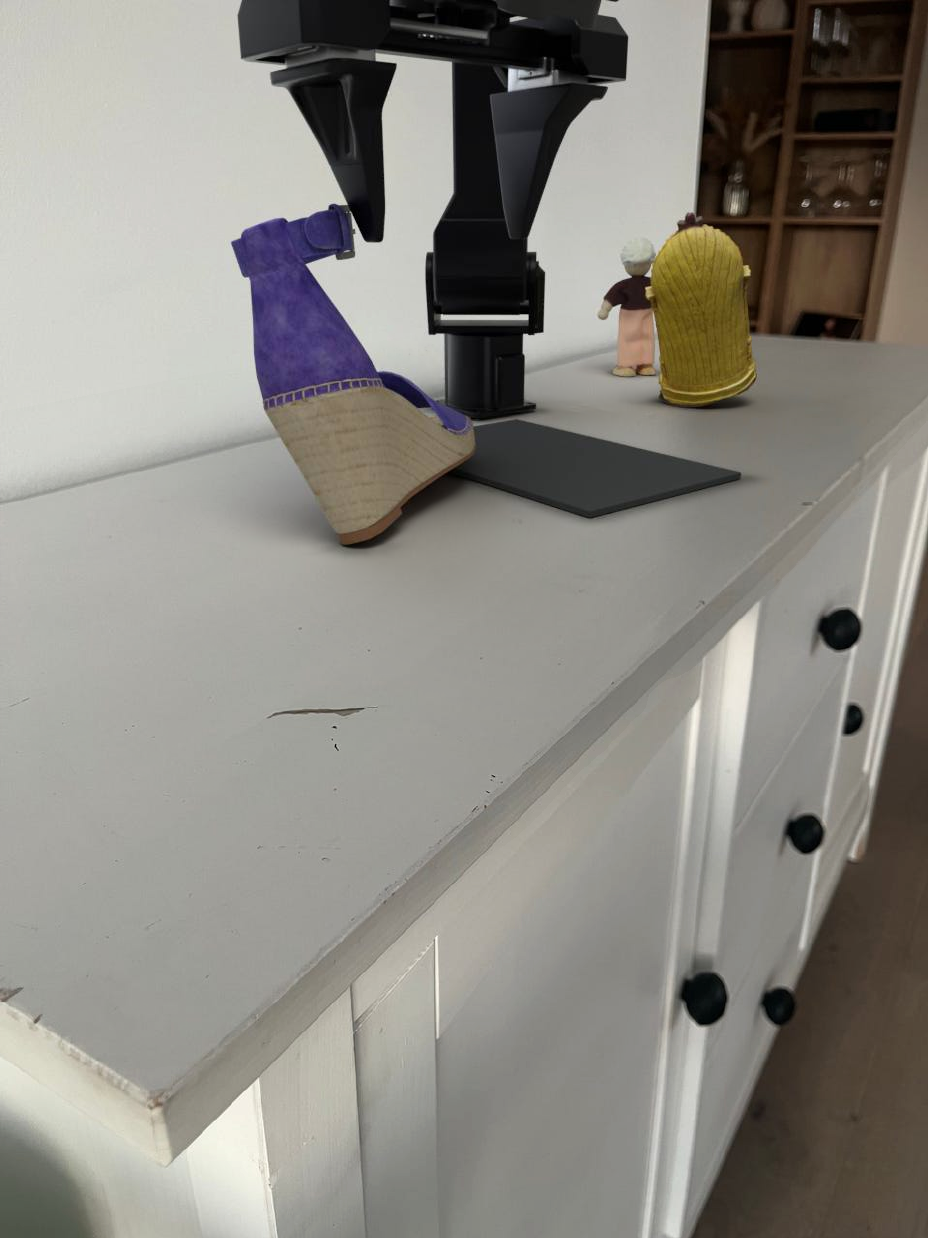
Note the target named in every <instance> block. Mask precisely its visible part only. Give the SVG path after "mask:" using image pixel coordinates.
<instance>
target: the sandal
mask: <svg viewBox="0 0 928 1238" xmlns="http://www.w3.org/2000/svg"><path fill="white" fill-rule="evenodd" d="M352 218H353V215H352V213H351V211H350V209H349V207H348V204H337V203H330V204H329V205H328V208H327V209H325V210H320V211H316V212H314V213H312V214H310V215H309V216H306V217H300V218H297V219H294V220H290V221H288V220H287V219H286V218H284V217H277V218H272V219H270V220H266V221H263V222H260V223H258V224H255V225H252V226H249V227H247V228H245V229H244V230H243V231H242V232H241V234H240V237H238V238H236V239H233V240H231V242H230V244H231V247H232V250H233V252H234V256H235V258H236V262H237V264H238V267H239V270H240V273H241V276H242V277H243V278H245V279H246V278H248V279H249V283H250V285H249V286H250V298H251V311H252V312H251V313H252V332H253V333H252V335H253V336H252V338H253V356H254V357H253V359H254V365H255V374H256V381H257V383H258V386H259V390H260V395H261V398H262V405H263V406H262V407H263V411H264V413H265V415H266V417H267V418H268V420H269V421H270V423H271V425H272V426H273V428H274V429H275V431H276V433H277V435H278V437H279V438H280V440H281V441H282V443H283V444H284V447H285V449H287V451H288V453H289V454H290V456H291V458H292V460H293V461H294V463H295V465H296V467H297V468H298V470H299V472H300V473H301V475H302V476H303V478H304V481H305V482H306V483H307V486H309V488H310V490H311V492H312V493H313V495H314V497H315V498H316V500H317V502H318V504H319V506H320V507H321V509H322V511H323V513H324V515H325V517H326V518H327V520H328V522H329V524H330V525H331V527H332V529H333V530H334V532H335V533H336V536H337V538H338V540H339V543H340V544H341V545H344V546H346V545H352V544H357V543H360V542H364V541H367V540H371V539H372V538H374V537H376V536H378V535H380V534H382V533H383V532H384V531H385V530H387V528H388V527H390V525H392V524H393V523H394V522H395V521H396V520H397V519H398V518H399V517H400V516H401V515H403V512H402V509H401V508H402V507H403V505H405V504H406V503H407V502H408V501H409V500H410V499H411V498H412V497H413V496H415V495H417V493H419V492H421V491H422V490H423V489H425V488H426V487H427V486H429V485H430V484H432V483H433V482H435V481H436V480H438V479H439V478H441V477H442V476H443V475H445V474H447V473H449V472H448V471H450V470H451V469H453V468H455V467H456V466H458V465H460V464H461V463H463V462H464V461H466V460H467V459H469V458H470V457H471V456H472V455H474V453H475V451H476V443H475V435H474V430H473V426H474V422H473V420H472V418H471V417H468V416H465V415H463V414H461V413H459V412H457V411H455V410H453V409H451V408H449V407H447V406H444V405H442V404H440V403H438V402H436V401H437V400H435V399H433V398H432V397H430V396H429V395H427V394H426V393H425V391H424V390H423V389H421V388H420V387H419V386H417V385H416V384H415V383H414V382H413V381H411V379H408V378H407V377H405V376H403V375H401V374H398V373H395V372H393V371H386V370H381V371H377V368H376V366H375V364H374V362H373V360H372V358H371V357H370V355H369V353H368V352H367V350H366V349H365V347H364V346H363V344H362V342H361V341H360V340H359V338H358V336H357V335H356V333H354V330H353V329H352V328H351V326H350V325H349V323H348V322H347V320H346V319H345V318H344V316H343V314H342V313H341V312H340V311H339V309H338V308H337V307H336V305H335V303H334V302H333V300H331V298H330V297H329V295H328V294H327V293H326V291H325V290H324V289H323V286H321V285H320V283H319V281H318V280H317V279H316V277H315V276H314V274H313V273H312V272H311V270H310V268H309V267H308V266H307V265H308V264H311V263H313V262H317V261H320V260H324V259H326V258H329V257H332V256H334V255H335V259H336V261H344V260H349V259H353V258H356V248H355V239H354V235H356V228H353V227H354V226H353V219H352ZM428 408H431V409H432V410H433V411H434V413H435V414H436V415H433V416H428V415H426V413H425V412H423V411H421V410H420V409H428Z"/></svg>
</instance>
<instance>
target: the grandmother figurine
mask: <svg viewBox="0 0 928 1238" xmlns="http://www.w3.org/2000/svg"><path fill="white" fill-rule="evenodd" d="M656 256H657V252H656V250H655V248H654V244H653V243H652V242H651V240H649V239H648V238H645V237H636V238H633V239H630V241H628V242H626V243H625V245H623V247H622V250H621V252H620V261H621V263H622V265H623V267H624V270H625V272H626V273H627V275H629V276H630V277H628V278H623V279H621V280H619V281H617V282H616V283H614V284H613V285H612V286H611V287H610V288H609V290H608V291H607V292H606V294H605V295H604V296H603V299H602V300H603V301H602V303H601V305H600V309H599V310H598V311H597V318H598V319H599V320H600V321H606V320H607V319H608V318H609V315H610V314H609V313H610V312H611V311H612V309H613V308H614V307H617V306H620V307H619V312H618V329H617V330H618V331H617V343H616V344H617V348H616V350H617V351H616V352H617V353H616V355H617V356H616V357H617V358H616V359H617V360H616V361H617V366H615V368H613V371H612V375H614V376H619V377H625V378H626V377H628V378H629V377H635V376H637V374H638V375H640V376H641V375H642V376H655V375H656V374H657V372H656V368H655V367H654V365H653V364H655V354H656V353H655V352H656V338H655V337H656V335H655V319H654V313H653V310H652V308H651V307H652V306H651V301H649V300H647V299H646V297H645V294H646V290H645V287H649V286H651V279H650V278H651V276H647V274H648V273H649V272H650V271H651V269H652V268H651V267H652V264H653V262H655V257H656ZM633 367H636V368H635V369H634V368H633Z"/></svg>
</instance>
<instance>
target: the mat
mask: <svg viewBox="0 0 928 1238" xmlns="http://www.w3.org/2000/svg"><path fill="white" fill-rule="evenodd" d="M473 430H474V435H475V443H476V451H475V453H474V455H472V456H471V457H470V458H469V459H467V460H466V461H464V462H463V463H461V464H460V465H458V466H456V467H455V468H453V469H451V470H450V471H448V472H447V473H450V474H453V475H456V476H459V477H462V478H465V479H469V480H471V481H474V482H476V483H477V482H478V483H481V484H484V485H487V486H490V487H493V488H496V489H500V490H503V491H506V492H508V493H512V494H515V495H518V496H520V497H524V498H527V499H529V500H533V501H537V502H539V503H542V504H545V505H549V506H551V507H555V508H558V509H561V510H564V511H567V512H570V513H573V514H576V515H579V516H583V517H585V518H589V519H591V518H595V517H598V516H602V515H607V514H610V513H611V514H612V513H614V512H618V511H622V510H626V509H629V508H633V507H637V506H641V505H644V504H648V503H653V502H656V501H660V500H664V499H667V498H672V497H675V496H679V495H683V494H687V493H691V492H695V491H699V490H702V489H706V488H709V487H713V486H718V485H720V484H725V483H729V482H734V481H738V480H740V479H741V478H742V472H740V471H737V470H732V469H728V468H725V467H724V468H723V467H719V466H716V465H711V464H707V463H703V462H699V461H694V460H691V459H686V458H683V457H679V456H673V455H670V454H665V453H662V452H657V451H653V450H648V449H644V448H640V447H637V446H631V445H627V444H623V443H619V442H614V441H610V440H606V439H602V438H598V437H594V436H590V435H585V434H581V433H578V432H574V431H568V430H565V429H559V428H557V427H556V428H555V427H551V426H548V425H544V424H539V423H536V422H530V421H526V420H523V419H518V418H515V419H509V420H503V421H497V422H491V423H486V424H479V425H473Z"/></svg>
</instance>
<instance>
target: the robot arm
mask: <svg viewBox="0 0 928 1238" xmlns="http://www.w3.org/2000/svg"><path fill="white" fill-rule="evenodd" d="M606 1H607V2H614V3H617V2H619V1H620V0H606ZM239 5H240V6H239V9H238V12H237V16H236V17H237V28H238V38H239V39H238V40H239V51H240V53H239V54H240V60H242V61H244V62H248V63H254V64H255V63H256V64H257V63H258V64H266V65H275V66H285V68H282V69H278V70H274V71H270V72H269V81H270V84H271V86H272V87H275V88H276V87H277V88H283V89H286V91H287V92H288V93H289V95H290V97H291V98H292V100H293V102H294V104H295V106H296V107H297V109H298V111H299V113H300V114H301V116H302V117H303V119H304V121H305V123H306V125H307V126H308V128H309V129H310V131H311V133H312V135H313V137H314V138H315V140H316V141H317V144H318V145H319V147H320V149H321V150H322V153H323V155H324V157H325V160H326V161H327V163H328V166H329V168H330V170H331V172H332V173H333V177H334V178H335V180H336V182H337V185H338V187H339V189H340V191H341V194H342V195H343V198H344V200H345V202H346V205H348V207H349V209H350V211H351V212H350V213H351V216H352V218H353V219H354V222H355V224H356V226H357V228H358V230H359V232H360V235H361V237H362V239H363V241H365V242H366V243H372V244H373V243H375V244H377V243H378V244H379V243H382V242H383V240H384V237H385V222H386V221H385V220H386V186H385V185H386V183H385V159H384V158H385V157H384V134H383V133H384V132H383V129H384V128H383V108H384V105H385V102H386V99H387V97H388V94H389V91H390V89H391V85H392V82H393V79H394V77H395V74H396V71H397V67H398V64H397V63H396V62H389V61H379V60H376V59H377V57H376V54H379V55H388V56H399V57H407V58H414V59H422V60H423V59H424V60H431V61H440V62H447V63H451V93H452V94H451V96H452V98H451V99H452V101H451V102H452V107H451V108H452V167H453V169H452V170H453V171H452V173H453V174H452V176H453V177H452V179H453V180H452V181H453V193H452V195H451V198H450V199H449V201H448V203H447V205H446V207H445V209H444V211H443V212H442V215H441V216H440V218H439V220H438V222H437V224H436V227H435V228H434V230H433V233H432V251H427V252H426V254H425V266H424V267H425V268H424V269H425V271H424V276H425V277H424V279H425V281H424V282H425V299H426V316H427V332H428V333H427V334H428V335H429V336H436V335H438V334H439V335H443V339H444V341H443V350H444V398H443V399H437V400H435V401H436V402H438V403H440V404H442V405H444V406H447V407H449V408H451V409H453V410H455V411H457V412H459V413H461V414H463V415H465V416H468V417H469V418H470V419H485V418H491V417H497V416H502V415H503V416H504V415H509V414H514V413H520V412H527V411H533V410H536V409H537V402H533V401H528V400H525V377H526V376H525V372H526V370H525V369H526V355H525V354H524V335H527V336H535V335H536V334H543V333H544V330H545V301H546V300H545V298H546V297H545V295H546V271H545V270H544V269H543V268H542V267H541V265H540V261H539V260H537V255H538V254H537V251H529V248H528V247H529V236H530V234H531V231H532V227H533V224H534V221H535V219H536V216H537V212H538V210H539V207H540V204H541V201H542V198H543V195H544V193H545V189H546V187H547V183H548V181H549V177H550V174H551V173H552V168H553V166H554V163H555V160H556V157H557V154H558V153H559V150H560V147H561V145H562V143H563V141H564V139H565V136H566V134H567V131H568V130H569V127H570V126H571V124H572V123H573V122H574V120H575V119H576V118H577V117H578V116H579V115H580V114H581V113H582V112H583V111H584V110H585V109H586V108H587V106H588V105H589V104H590V103H591V102H595V101H601V100H603V99H604V97H605V96H606V94H607V93H608V90H609V86H606V85H607V84H614V83H621V82H626V81H627V73H628V72H627V71H628V70H627V69H628V52H629V51H628V50H629V35H628V34H627V32H626V31H625V29H624V27H623V26H622V25H621V23H620V22H619V20H618V19H617V18H616V17H615V16H610V15H603V14H599V12H600V8H601V5H602V0H241V1H240V4H239ZM516 17H518V18H522V19H518V20H513V21H511V19H512V18H516ZM520 315H526V316H527V315H528V319H442V316H520Z"/></svg>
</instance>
